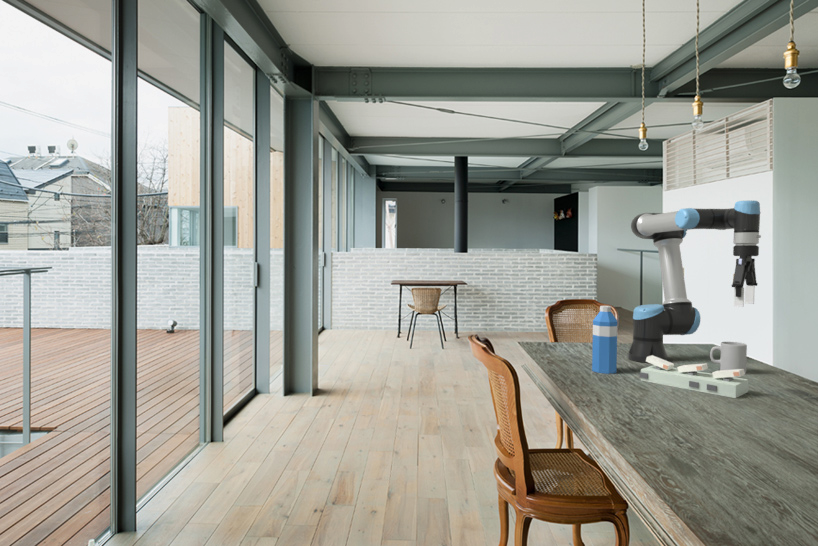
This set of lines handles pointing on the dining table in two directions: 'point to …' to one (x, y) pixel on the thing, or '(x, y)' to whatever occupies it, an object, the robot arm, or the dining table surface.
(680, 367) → the rocker middle
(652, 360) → the block
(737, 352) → the mug
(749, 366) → the dining table surface
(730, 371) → the rocker right
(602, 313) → the water bottle
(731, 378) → the switch unit
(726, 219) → the robot arm
